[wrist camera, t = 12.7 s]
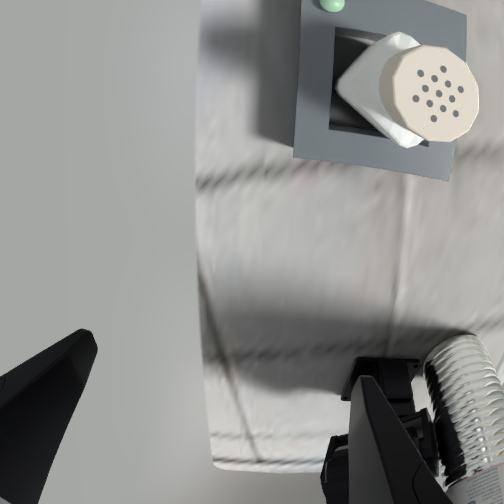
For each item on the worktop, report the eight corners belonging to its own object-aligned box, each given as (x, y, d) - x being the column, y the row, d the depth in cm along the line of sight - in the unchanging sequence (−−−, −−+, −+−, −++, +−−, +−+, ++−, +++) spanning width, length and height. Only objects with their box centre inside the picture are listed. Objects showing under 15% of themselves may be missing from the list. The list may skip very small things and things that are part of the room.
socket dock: (433, 169, 17) (451, 183, 15) (294, 148, 18) (292, 159, 16) (449, 20, 12) (469, 14, 10) (302, -10, 13) (301, -24, 11)
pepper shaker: (420, 88, 15) (508, 103, 7) (379, 133, 17) (438, 180, 9) (371, 41, 14) (429, 8, 6) (328, 87, 16) (351, 90, 8)
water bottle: (423, 339, 24) (455, 627, 3) (488, 323, 22) (555, 582, 1) (417, 384, 27) (433, 618, 6) (475, 370, 25) (514, 588, 4)
